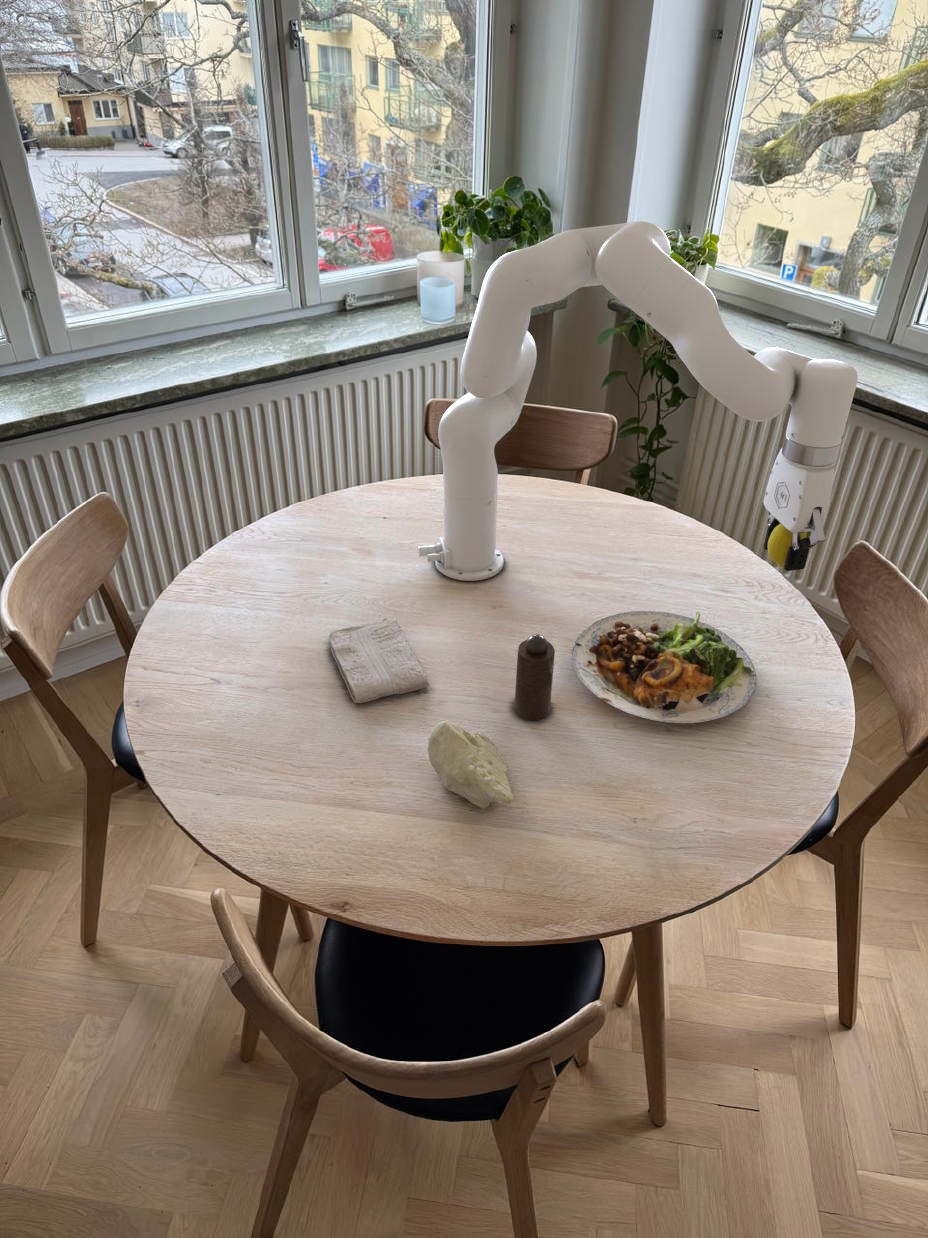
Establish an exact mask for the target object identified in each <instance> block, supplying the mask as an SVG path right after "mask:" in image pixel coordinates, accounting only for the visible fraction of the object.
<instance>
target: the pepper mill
mask: <svg viewBox="0 0 928 1238" xmlns="http://www.w3.org/2000/svg"><path fill="white" fill-rule="evenodd" d="M555 655H556V649H555V646H554V645H553V644H552V643H551V642H550V641H548V640H547V639H546V637H545V636H543V635H541V634H538V633H536V634H531V635H530V636H529V637H528V638H527V639H525V640H523V641H521V642H520V643H519V644H518V647H517V654H516V673H515V674H516V676H515V692H514V712H515V713H516V715H517V716H518V717H520V718H521V719H524V720H526V721H532V722H534V721H540V720H543V719H545V718H546V717H548V716H549V714H550V712H551V702H552V690H553V677H554V667H555Z"/></svg>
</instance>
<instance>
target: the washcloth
mask: <svg viewBox="0 0 928 1238" xmlns="http://www.w3.org/2000/svg"><path fill="white" fill-rule="evenodd" d="M328 641H329V643H330V651H331V654H332V657H333V659H334V660H335V662H336V665H337V668H338V670H339V673H340V675H341V677H342V679H343V682H344V683H345V686H346V688H347V690H348V693H349V695H350V697H351V699H352V701H353V703H355V704H357V703H358V704H363V703H367V702H371V701H375V700H379V699H380V698H383V697H388V696H393V695H401V694H405V693H409V692H414V691H417V690H422V689H425V688H427V687H428V686H430V684H429V681H428V677H427V674H426V673H425V671H424V669H423V668H422V665H421V664H420V662H419V660H418V659H417V657H416V655H415V653H414V651H413V648H411V646H410V644H409V641H408V640H407V639H406V637H405V634H404V633H403V630H402V627H401V626H400V624H399V622H398V620H396V619H395V618H383V619H381V620H380V621H375V622H370V623H365V624H359V625H351V626H346V627H341V628H337V629H332V630H331V632H330V633H329V635H328Z"/></svg>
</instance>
